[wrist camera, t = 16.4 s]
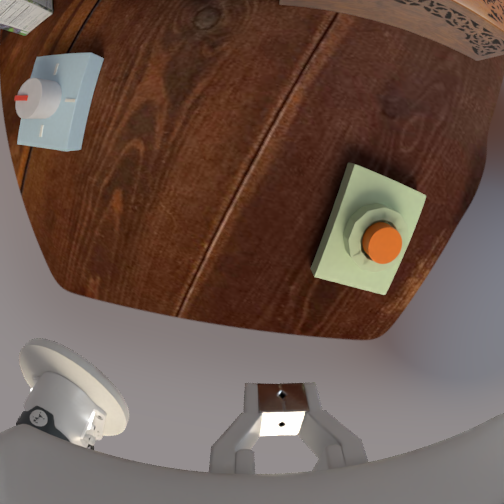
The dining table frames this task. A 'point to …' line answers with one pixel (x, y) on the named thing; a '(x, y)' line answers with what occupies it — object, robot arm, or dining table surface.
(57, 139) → the panel
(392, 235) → the button
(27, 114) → the dial
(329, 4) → the tissue box cover
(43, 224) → the dining table surface
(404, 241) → the button block
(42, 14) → the syrup box
